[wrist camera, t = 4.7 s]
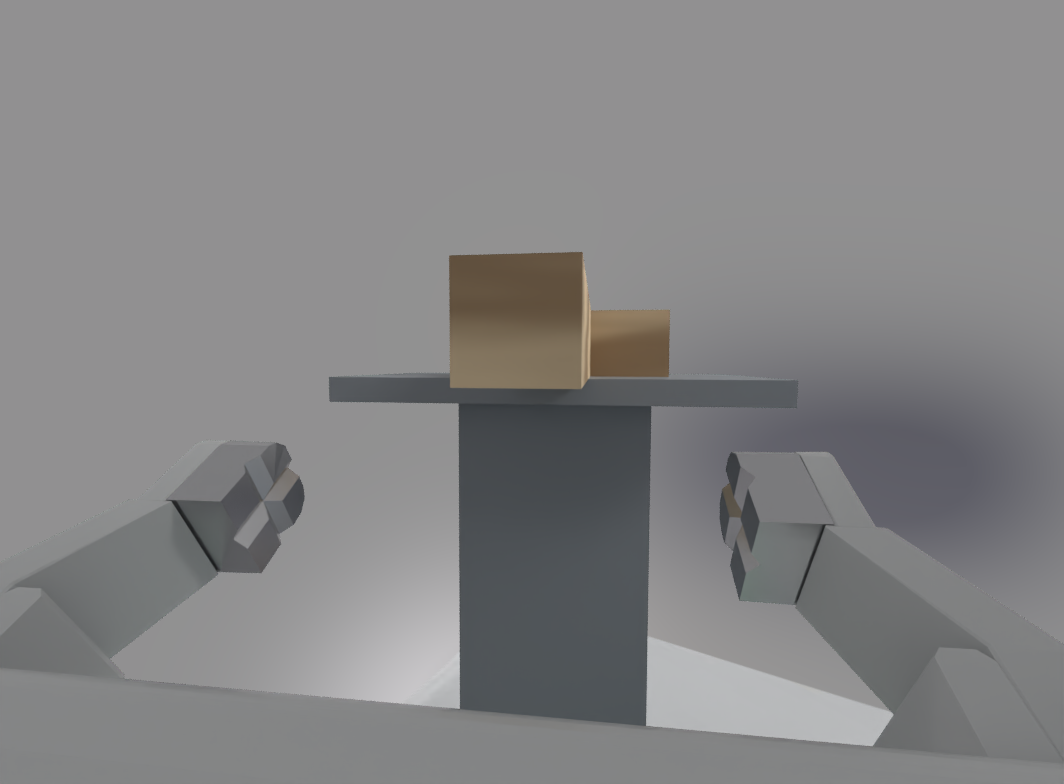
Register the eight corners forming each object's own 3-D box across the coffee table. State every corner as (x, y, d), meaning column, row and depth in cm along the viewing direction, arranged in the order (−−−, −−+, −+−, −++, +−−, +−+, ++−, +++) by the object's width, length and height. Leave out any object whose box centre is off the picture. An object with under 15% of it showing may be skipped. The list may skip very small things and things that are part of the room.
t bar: (746, 391, 11) (749, 247, 11) (308, 386, 12) (305, 259, 12) (660, 375, 26) (661, 316, 25) (468, 374, 27) (468, 317, 27)
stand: (776, 1049, 20) (798, 380, 18) (340, 974, 22) (329, 377, 20) (712, 803, 30) (723, 374, 29) (426, 771, 33) (422, 372, 31)
